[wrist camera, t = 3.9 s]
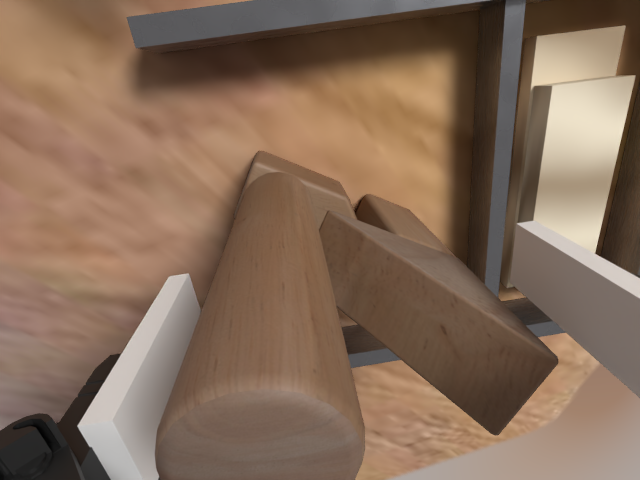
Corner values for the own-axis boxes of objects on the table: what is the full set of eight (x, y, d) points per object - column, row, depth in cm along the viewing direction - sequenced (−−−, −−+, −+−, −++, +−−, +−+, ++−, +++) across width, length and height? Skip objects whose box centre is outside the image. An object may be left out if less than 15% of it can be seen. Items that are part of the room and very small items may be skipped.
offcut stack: (559, 268, 27) (589, 289, 24) (495, 277, 27) (519, 299, 24) (603, 29, 21) (652, 20, 18) (520, 39, 21) (556, 32, 18)
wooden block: (387, 255, 25) (586, 586, 8) (239, 201, 22) (112, 523, 6) (412, 209, 24) (703, 490, 7) (258, 146, 21) (166, 360, 5)
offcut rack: (605, 297, 28) (640, 319, 25) (242, 356, 27) (237, 386, 24) (688, -45, 19) (755, -66, 16) (150, 27, 18) (126, 16, 16)
